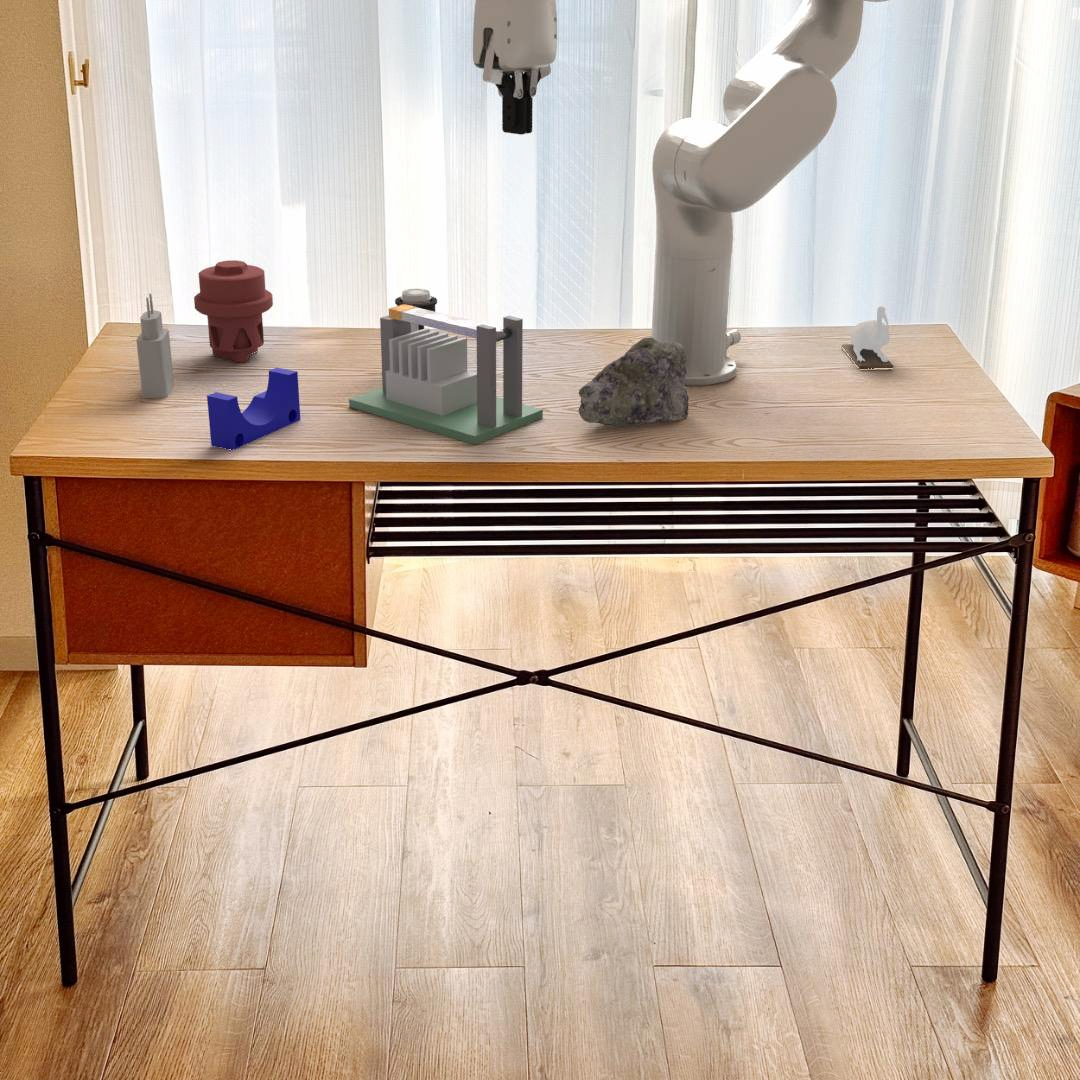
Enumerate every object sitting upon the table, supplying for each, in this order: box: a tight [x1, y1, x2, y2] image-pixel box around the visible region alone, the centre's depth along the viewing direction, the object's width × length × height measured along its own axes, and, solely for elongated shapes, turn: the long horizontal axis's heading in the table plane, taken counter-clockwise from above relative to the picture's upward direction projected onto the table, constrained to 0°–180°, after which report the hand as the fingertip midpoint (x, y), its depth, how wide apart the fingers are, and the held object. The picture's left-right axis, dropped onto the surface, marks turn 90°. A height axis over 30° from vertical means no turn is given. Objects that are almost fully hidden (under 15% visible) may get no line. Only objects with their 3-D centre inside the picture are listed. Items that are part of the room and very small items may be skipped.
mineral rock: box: [577, 336, 690, 427], centre depth 170 cm, size 13×11×10 cm
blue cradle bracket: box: [206, 367, 301, 451], centre depth 166 cm, size 12×4×6 cm, turn 150°
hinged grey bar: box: [388, 304, 512, 343], centre depth 168 cm, size 3×17×1 cm, turn 51°
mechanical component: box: [193, 259, 274, 364], centre depth 191 cm, size 12×10×10 cm
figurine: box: [841, 305, 894, 370], centre depth 191 cm, size 14×4×9 cm, turn 3°
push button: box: [394, 288, 438, 333], centre depth 186 cm, size 7×5×10 cm
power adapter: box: [135, 292, 175, 399], centre depth 177 cm, size 3×5×12 cm, turn 3°
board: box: [348, 314, 544, 445], centre depth 171 cm, size 12×20×12 cm, turn 51°
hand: (517, 132), depth 169 cm, fingers closed
